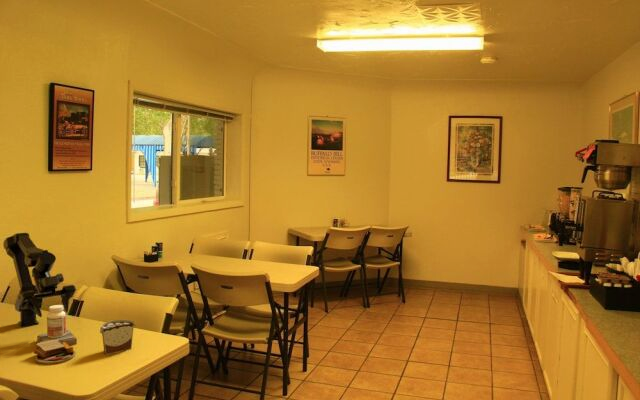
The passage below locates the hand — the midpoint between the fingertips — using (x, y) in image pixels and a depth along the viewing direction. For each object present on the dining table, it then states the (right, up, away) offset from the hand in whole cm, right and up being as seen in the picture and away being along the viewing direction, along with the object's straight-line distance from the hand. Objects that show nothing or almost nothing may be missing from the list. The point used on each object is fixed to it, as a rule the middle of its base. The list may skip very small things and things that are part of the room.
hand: (54, 314), depth 195 cm
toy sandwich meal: (+7, -12, -15) cm, 20 cm away
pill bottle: (+1, -8, -1) cm, 8 cm away
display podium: (+1, -10, -1) cm, 11 cm away
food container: (+25, -12, -6) cm, 28 cm away
